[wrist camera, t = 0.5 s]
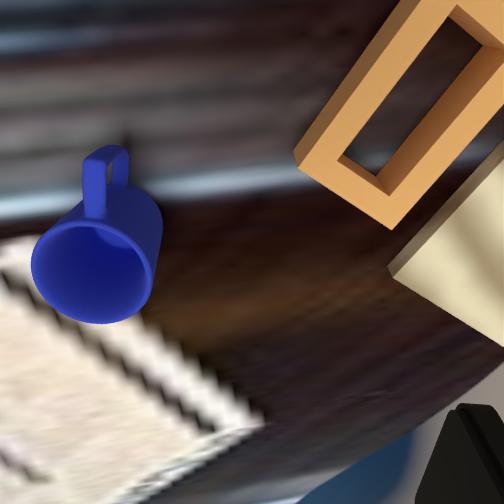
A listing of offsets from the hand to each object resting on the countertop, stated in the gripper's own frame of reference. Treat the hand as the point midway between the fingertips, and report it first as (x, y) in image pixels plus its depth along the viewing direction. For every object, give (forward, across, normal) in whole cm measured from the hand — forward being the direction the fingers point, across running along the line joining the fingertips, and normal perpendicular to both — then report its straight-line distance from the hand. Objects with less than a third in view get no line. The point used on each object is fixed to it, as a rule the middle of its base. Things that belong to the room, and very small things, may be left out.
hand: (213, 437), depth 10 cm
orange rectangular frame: (+31, -12, -3) cm, 34 cm away
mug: (+32, +9, +8) cm, 34 cm away
